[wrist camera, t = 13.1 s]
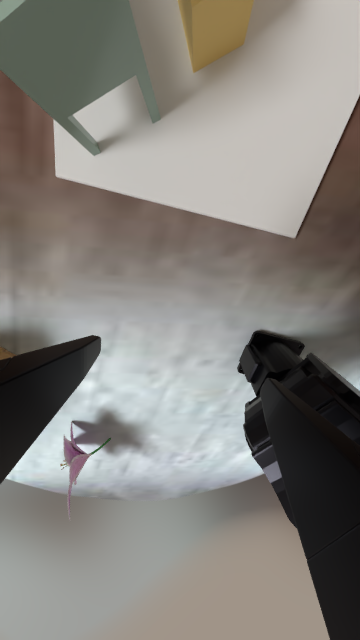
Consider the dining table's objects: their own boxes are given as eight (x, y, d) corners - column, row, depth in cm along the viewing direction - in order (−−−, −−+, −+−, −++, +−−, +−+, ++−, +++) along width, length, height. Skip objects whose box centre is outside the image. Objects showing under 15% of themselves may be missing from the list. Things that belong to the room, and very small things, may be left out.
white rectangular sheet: (457, -129, 10) (467, -143, 10) (292, 238, 18) (294, 237, 17) (44, -238, 10) (39, -256, 10) (58, 177, 18) (55, 176, 17)
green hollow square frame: (161, 119, 15) (109, -72, 6) (93, 156, 16) (-27, 44, 8) (127, -1, 13) (-32, -575, 4) (52, 54, 14) (-188, -275, 5)
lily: (93, 398, 31) (26, 445, 23) (133, 455, 28) (73, 527, 21) (85, 416, 38) (33, 455, 31) (116, 462, 36) (67, 517, 29)
